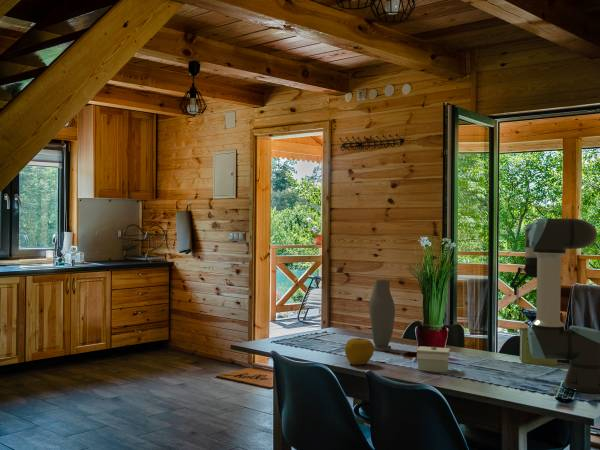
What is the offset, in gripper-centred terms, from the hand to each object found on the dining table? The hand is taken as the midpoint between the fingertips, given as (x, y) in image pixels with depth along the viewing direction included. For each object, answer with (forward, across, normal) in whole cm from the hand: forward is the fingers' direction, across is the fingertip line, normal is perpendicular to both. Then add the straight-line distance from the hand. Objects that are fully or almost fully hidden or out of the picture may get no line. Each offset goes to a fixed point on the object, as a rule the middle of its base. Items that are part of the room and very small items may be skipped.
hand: (533, 303), depth 293 cm
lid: (+20, +39, +36) cm, 57 cm away
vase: (+28, +72, -4) cm, 77 cm away
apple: (+28, +71, +40) cm, 86 cm away
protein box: (+28, -2, -5) cm, 28 cm away
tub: (+28, +39, +36) cm, 60 cm away
